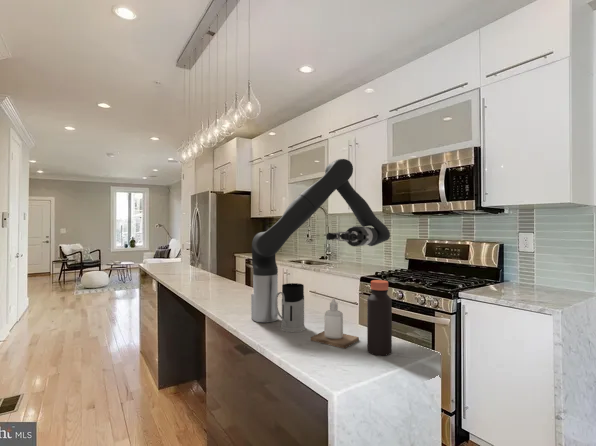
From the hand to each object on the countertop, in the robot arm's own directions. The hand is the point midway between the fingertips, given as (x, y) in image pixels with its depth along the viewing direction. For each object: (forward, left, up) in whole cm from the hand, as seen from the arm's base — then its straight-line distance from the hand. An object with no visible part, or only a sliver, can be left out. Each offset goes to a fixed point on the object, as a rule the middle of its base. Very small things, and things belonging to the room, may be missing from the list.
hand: (338, 237), depth 119 cm
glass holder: (-13, -11, -32) cm, 36 cm away
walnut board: (+5, -11, -32) cm, 34 cm away
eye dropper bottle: (+5, -11, -31) cm, 33 cm away
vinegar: (+20, -11, -32) cm, 39 cm away
